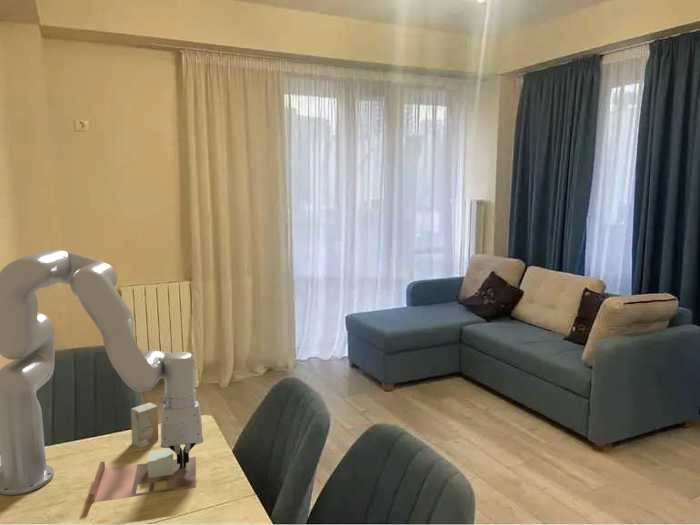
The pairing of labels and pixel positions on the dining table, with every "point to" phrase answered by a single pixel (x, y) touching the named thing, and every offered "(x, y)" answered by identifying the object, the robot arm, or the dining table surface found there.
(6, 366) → the robot arm
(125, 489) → the track
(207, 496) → the dining table surface
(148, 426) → the skincare box
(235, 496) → the dining table surface
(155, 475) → the sage block
